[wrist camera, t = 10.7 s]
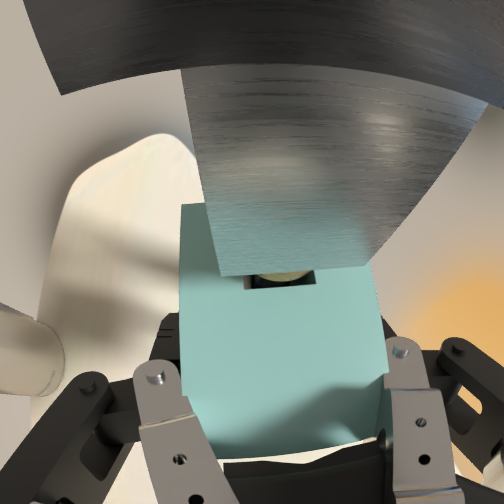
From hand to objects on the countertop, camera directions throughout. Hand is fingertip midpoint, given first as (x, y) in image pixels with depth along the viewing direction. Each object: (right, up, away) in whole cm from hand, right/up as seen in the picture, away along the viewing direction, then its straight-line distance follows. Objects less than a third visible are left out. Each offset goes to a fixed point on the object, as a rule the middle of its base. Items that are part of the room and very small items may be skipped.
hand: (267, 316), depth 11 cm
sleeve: (0, -3, +2) cm, 4 cm away
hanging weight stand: (+1, -5, +18) cm, 19 cm away
